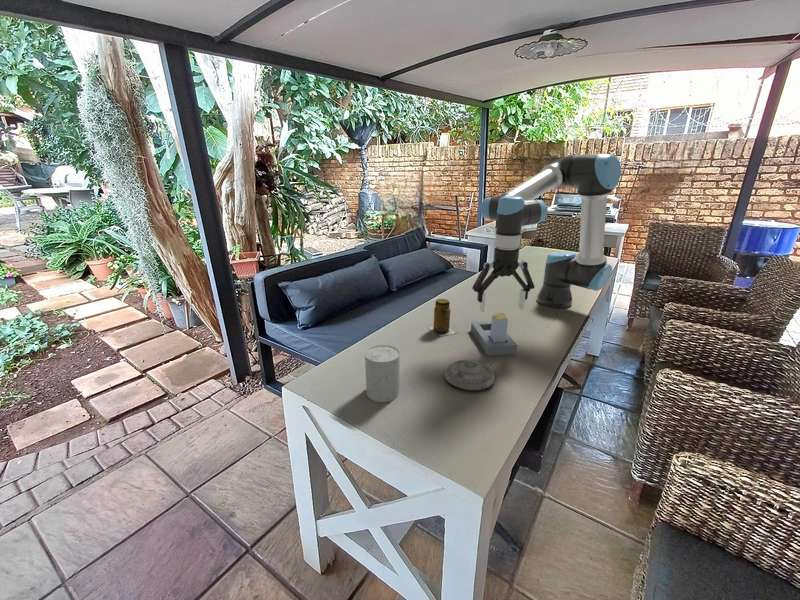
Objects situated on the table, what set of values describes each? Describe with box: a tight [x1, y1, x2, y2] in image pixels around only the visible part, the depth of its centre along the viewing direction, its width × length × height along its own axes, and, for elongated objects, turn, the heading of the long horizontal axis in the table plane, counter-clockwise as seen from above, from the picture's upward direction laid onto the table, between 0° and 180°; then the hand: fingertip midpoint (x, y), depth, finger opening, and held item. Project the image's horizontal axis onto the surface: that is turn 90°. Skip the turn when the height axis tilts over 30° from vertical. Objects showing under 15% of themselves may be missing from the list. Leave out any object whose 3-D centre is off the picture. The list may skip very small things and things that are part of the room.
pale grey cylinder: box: [364, 344, 401, 403], centre depth 102 cm, size 10×10×12 cm
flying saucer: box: [443, 359, 496, 391], centre depth 109 cm, size 15×15×6 cm
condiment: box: [428, 298, 457, 337], centre depth 140 cm, size 7×8×12 cm
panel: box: [470, 320, 518, 357], centre depth 132 cm, size 10×20×4 cm, turn 6°
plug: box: [490, 312, 509, 343], centre depth 126 cm, size 4×4×12 cm
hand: (501, 309), depth 123 cm, fingers open, 13 cm apart
